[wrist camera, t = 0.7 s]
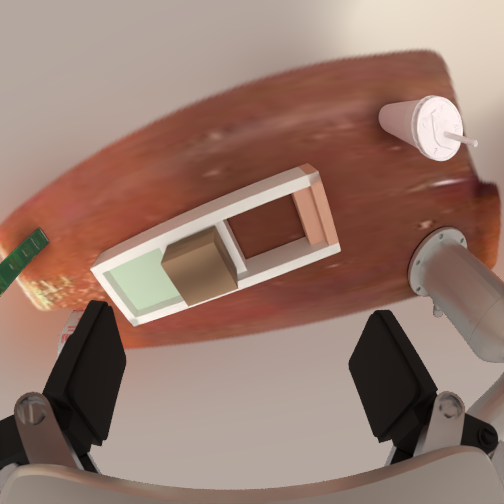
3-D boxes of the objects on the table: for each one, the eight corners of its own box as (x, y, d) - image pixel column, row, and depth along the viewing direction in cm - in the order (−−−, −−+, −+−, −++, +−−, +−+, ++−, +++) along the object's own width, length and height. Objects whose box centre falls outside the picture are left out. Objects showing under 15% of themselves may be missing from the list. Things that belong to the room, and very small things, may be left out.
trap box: (330, 235, 35) (340, 251, 32) (140, 307, 38) (133, 326, 35) (307, 162, 30) (318, 170, 27) (101, 252, 34) (89, 268, 30)
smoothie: (387, 153, 30) (464, 189, 18) (358, 112, 28) (436, 125, 16) (419, 124, 29) (500, 148, 16) (393, 83, 26) (477, 86, 14)
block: (236, 268, 33) (238, 288, 30) (191, 285, 34) (188, 306, 31) (214, 225, 31) (213, 242, 27) (167, 245, 31) (160, 264, 28)
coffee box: (24, 264, 33) (-20, 318, 22) (14, 250, 32) (-33, 301, 20) (50, 242, 32) (0, 299, 21) (39, 226, 31) (-15, 278, 19)
